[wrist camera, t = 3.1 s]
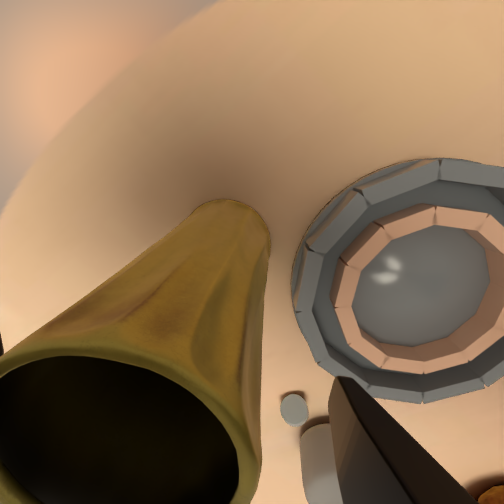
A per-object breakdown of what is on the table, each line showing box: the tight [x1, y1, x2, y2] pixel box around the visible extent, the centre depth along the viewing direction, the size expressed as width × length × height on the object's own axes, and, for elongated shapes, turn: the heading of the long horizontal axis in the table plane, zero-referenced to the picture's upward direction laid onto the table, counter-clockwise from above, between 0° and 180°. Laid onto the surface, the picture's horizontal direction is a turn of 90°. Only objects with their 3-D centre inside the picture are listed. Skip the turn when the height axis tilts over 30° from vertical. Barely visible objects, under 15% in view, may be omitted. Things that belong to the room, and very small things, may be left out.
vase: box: [0, 199, 271, 504], centre depth 11 cm, size 6×6×14 cm
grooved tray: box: [291, 158, 504, 404], centre depth 17 cm, size 16×16×2 cm
